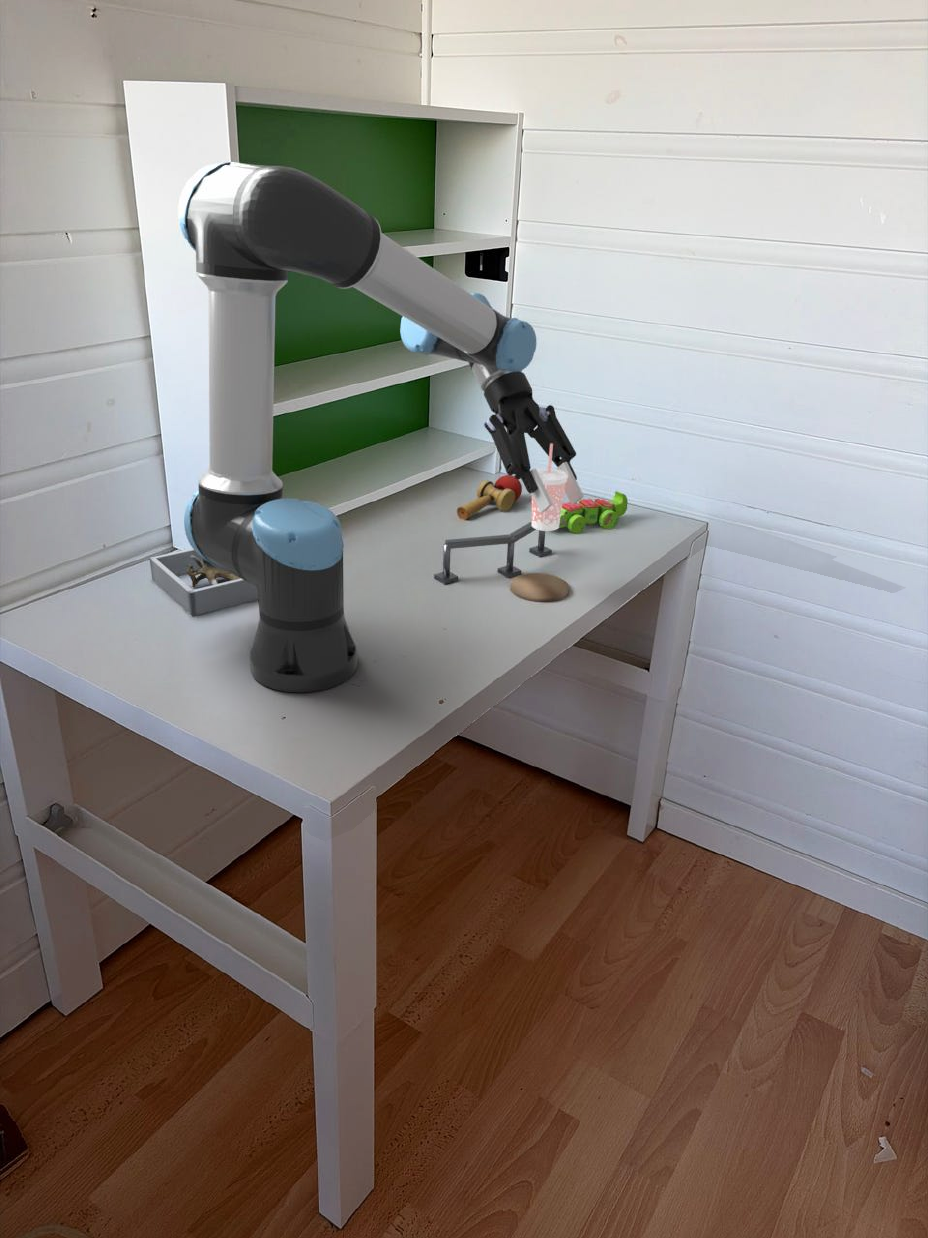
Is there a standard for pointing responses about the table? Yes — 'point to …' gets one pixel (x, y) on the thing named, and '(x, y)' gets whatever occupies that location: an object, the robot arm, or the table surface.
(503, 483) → the kendama
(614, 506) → the toy crocodile
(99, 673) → the table surface
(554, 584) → the walnut pad
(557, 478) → the beverage cup
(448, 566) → the bent rail
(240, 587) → the slate open-top tray
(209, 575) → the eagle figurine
